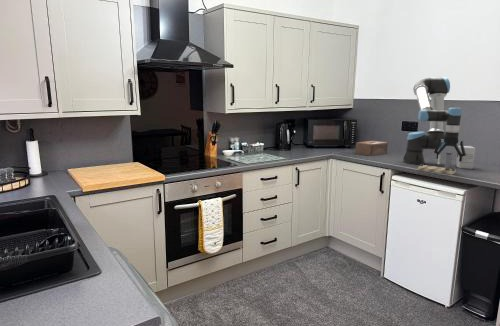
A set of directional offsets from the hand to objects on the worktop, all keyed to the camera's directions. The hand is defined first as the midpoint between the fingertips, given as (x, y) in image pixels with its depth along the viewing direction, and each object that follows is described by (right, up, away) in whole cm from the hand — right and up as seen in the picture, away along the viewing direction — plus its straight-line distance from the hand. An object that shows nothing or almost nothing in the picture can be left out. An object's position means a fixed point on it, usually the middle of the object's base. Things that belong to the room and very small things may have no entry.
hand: (448, 165), depth 229 cm
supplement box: (+23, -2, +20) cm, 31 cm away
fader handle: (0, -3, +1) cm, 3 cm away
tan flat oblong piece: (-5, -4, +5) cm, 8 cm away
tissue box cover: (-24, +9, +78) cm, 82 cm away
